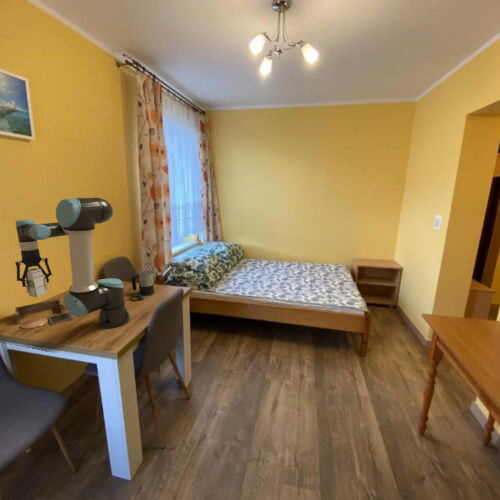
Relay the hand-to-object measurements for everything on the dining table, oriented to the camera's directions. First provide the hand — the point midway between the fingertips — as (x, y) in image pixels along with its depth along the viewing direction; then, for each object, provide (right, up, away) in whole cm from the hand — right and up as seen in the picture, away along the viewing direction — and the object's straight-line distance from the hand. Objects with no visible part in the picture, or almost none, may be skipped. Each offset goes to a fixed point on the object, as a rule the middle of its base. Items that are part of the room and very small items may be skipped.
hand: (37, 290), depth 148 cm
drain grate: (+14, -15, -1) cm, 20 cm away
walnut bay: (0, -14, +3) cm, 14 cm away
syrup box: (0, -3, +1) cm, 3 cm away
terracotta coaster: (+4, -16, -7) cm, 18 cm away
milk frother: (+46, -8, +31) cm, 56 cm away
